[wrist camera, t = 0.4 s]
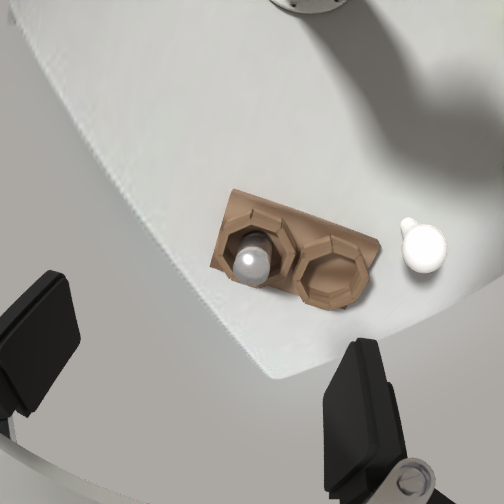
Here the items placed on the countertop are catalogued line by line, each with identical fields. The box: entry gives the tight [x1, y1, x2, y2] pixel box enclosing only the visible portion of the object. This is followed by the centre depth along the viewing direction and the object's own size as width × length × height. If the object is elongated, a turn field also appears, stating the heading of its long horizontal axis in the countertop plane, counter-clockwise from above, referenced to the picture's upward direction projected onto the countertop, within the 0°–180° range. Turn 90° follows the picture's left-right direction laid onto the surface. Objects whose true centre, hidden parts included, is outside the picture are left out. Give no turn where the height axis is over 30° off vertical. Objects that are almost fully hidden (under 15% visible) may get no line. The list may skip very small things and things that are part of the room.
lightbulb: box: [400, 218, 447, 273], centre depth 38 cm, size 6×6×11 cm
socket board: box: [210, 189, 381, 311], centre depth 45 cm, size 12×22×5 cm, turn 73°
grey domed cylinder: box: [233, 230, 273, 286], centre depth 42 cm, size 4×4×7 cm
